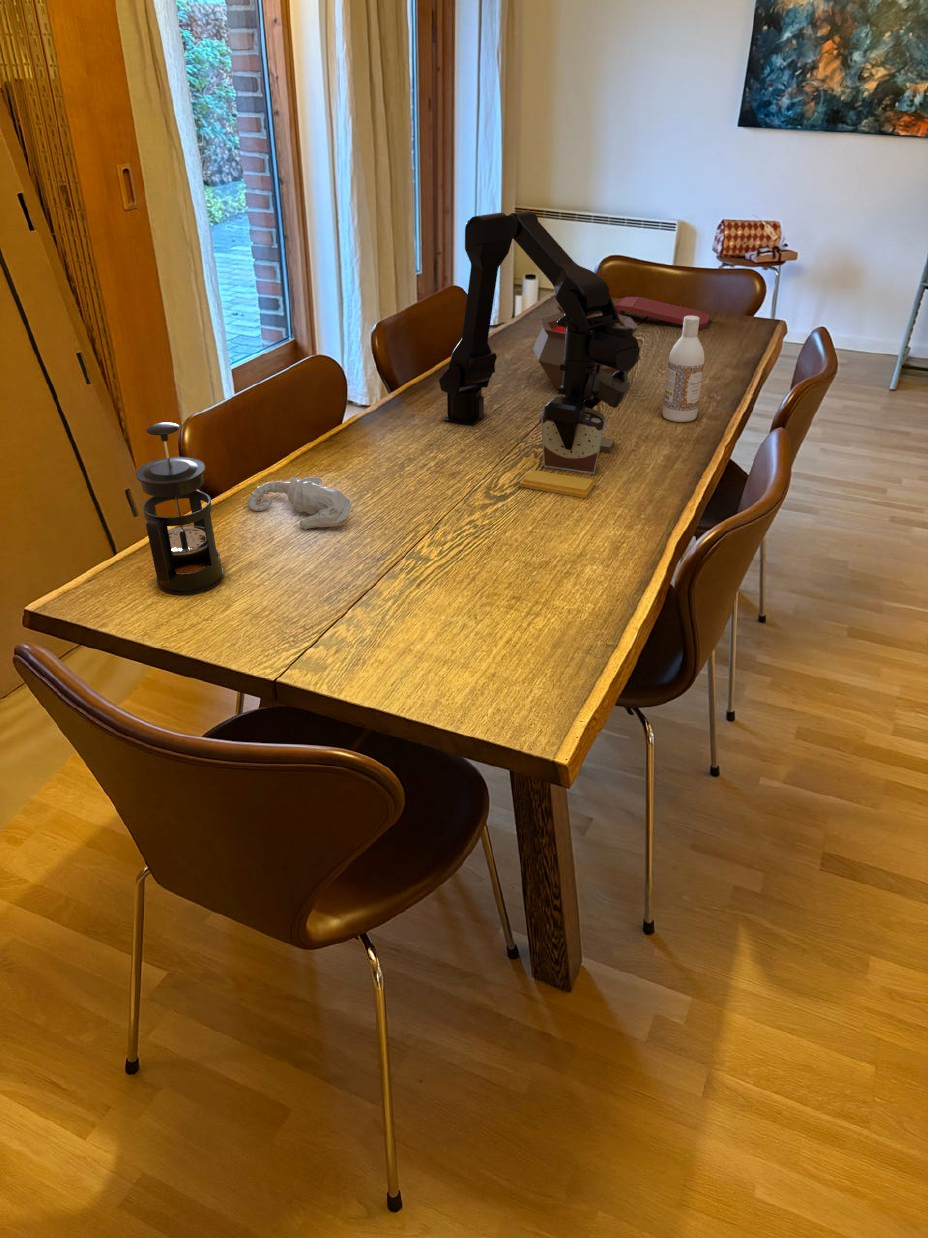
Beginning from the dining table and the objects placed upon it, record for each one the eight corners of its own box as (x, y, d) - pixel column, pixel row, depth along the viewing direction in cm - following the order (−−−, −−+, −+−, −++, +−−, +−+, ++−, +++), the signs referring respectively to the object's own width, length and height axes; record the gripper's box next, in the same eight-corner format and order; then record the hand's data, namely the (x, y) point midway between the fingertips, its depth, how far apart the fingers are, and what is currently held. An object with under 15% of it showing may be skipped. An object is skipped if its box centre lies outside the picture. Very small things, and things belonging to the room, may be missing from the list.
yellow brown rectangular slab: (518, 486, 158) (519, 479, 157) (528, 476, 162) (529, 468, 161) (585, 498, 154) (586, 490, 153) (594, 487, 158) (594, 479, 157)
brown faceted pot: (660, 392, 200) (668, 316, 191) (565, 409, 191) (570, 330, 182) (599, 363, 218) (604, 292, 209) (510, 377, 209) (512, 303, 200)
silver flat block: (567, 446, 174) (568, 440, 173) (574, 439, 177) (574, 433, 176) (608, 452, 171) (609, 446, 170) (614, 445, 174) (615, 439, 174)
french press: (181, 557, 137) (153, 408, 125) (238, 565, 135) (215, 415, 122) (137, 596, 127) (101, 439, 115) (197, 606, 125) (167, 447, 113)
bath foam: (678, 425, 183) (692, 323, 172) (654, 415, 188) (665, 315, 177) (703, 418, 186) (718, 318, 175) (679, 409, 191) (691, 310, 180)
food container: (609, 462, 167) (615, 409, 162) (602, 475, 162) (608, 421, 157) (544, 453, 171) (547, 401, 165) (535, 465, 166) (538, 412, 160)
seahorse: (226, 513, 147) (335, 516, 139) (256, 465, 154) (361, 465, 146) (240, 536, 151) (346, 540, 143) (268, 488, 157) (371, 489, 150)
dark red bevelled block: (706, 331, 254) (619, 310, 259) (711, 313, 251) (623, 292, 256) (700, 343, 244) (610, 320, 249) (705, 325, 241) (614, 302, 246)
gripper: (611, 379, 146) (602, 470, 154) (641, 348, 160) (631, 433, 169) (545, 369, 150) (540, 459, 158) (580, 340, 164) (573, 423, 172)
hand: (574, 443), depth 164 cm, fingers closed on food container, 6 cm apart
